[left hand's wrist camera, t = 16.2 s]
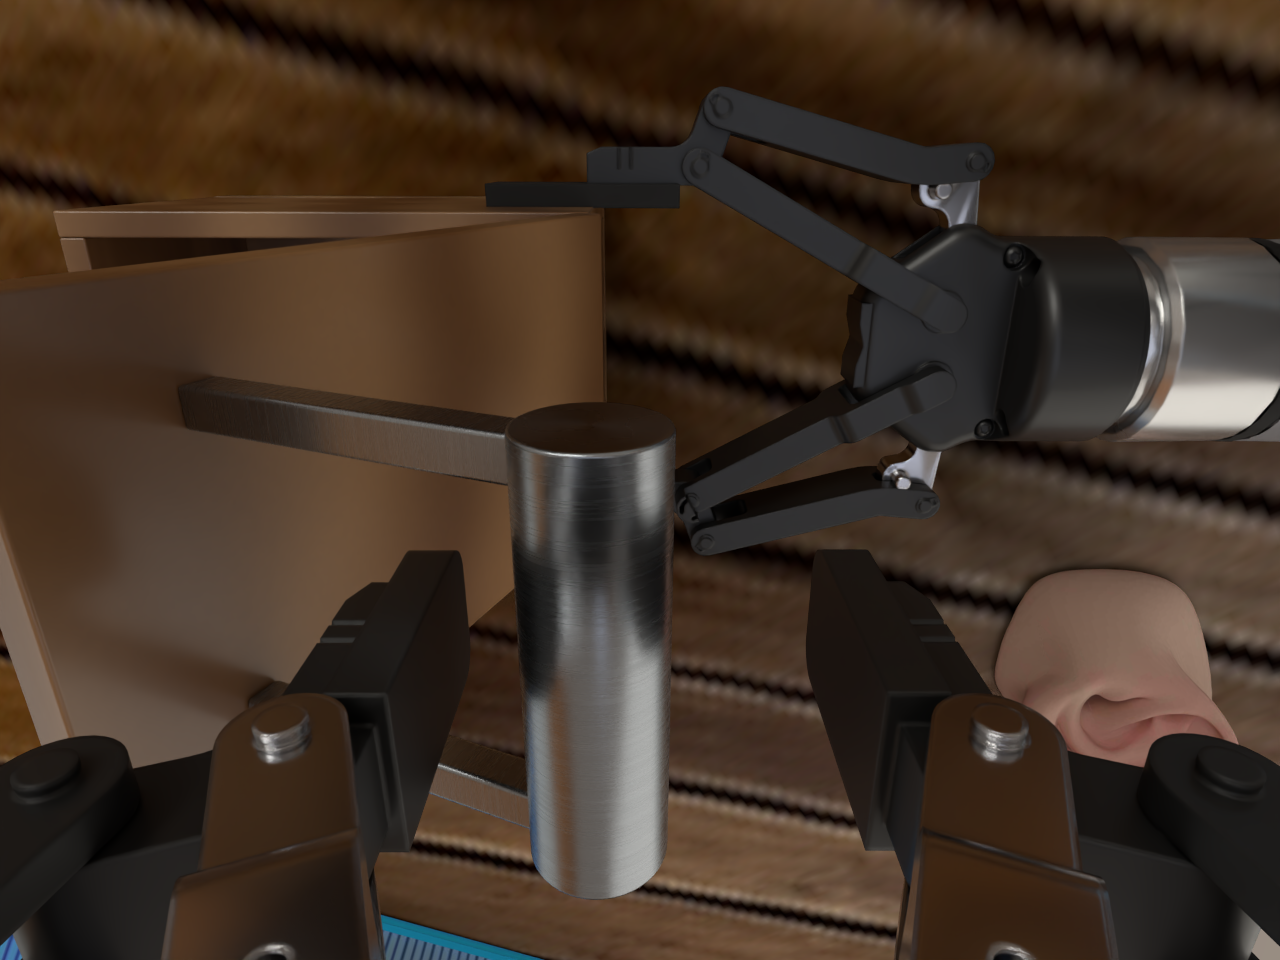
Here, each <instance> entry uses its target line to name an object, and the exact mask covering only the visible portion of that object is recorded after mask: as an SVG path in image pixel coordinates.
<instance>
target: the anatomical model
mask: <svg viewBox="0 0 1280 960" xmlns="http://www.w3.org/2000/svg"><path fill="white" fill-rule="evenodd" d="M995 681H996V684H997V687H998V689H999V690H1000V692H1001V694H1002V695H1003V697H1005V698H1008V699H1011V700H1014V701H1017V702H1019V703H1021V704H1024V705H1026V706H1028V707H1030V708H1032V709H1033V710H1035V711H1037V712H1038V713H1040V714H1041V715H1043V716H1044V717H1045V718H1047V719H1048V720H1049V721H1050V722H1051V723H1052V724H1053V725H1055V726H1056V728H1057V729H1058V730H1059V731H1060V733H1061V734H1062V736H1063V738H1064V740H1065V742H1066V746H1067V750H1068V751H1071V752H1075V753H1079V754H1083V755H1087V756H1092V757H1097V758H1101V759H1106V760H1111V761H1115V762H1120V763H1125V764H1129V765H1134V766H1139V767H1143V768H1144V765H1145V762H1146V758H1147V755H1148V752H1149V749H1150V747H1151V745H1152V743H1153V742H1154V741H1156V740H1157V739H1158V738H1160V737H1163V736H1165V735H1170V734H1176V733H1194V734H1201V735H1208V736H1212V737H1216V738H1220V739H1223V740H1227V741H1230V742H1233V743H1236V744H1238V745H1239V743H1238V741H1237V738H1236V736H1235V734H1234V732H1233V730H1232V728H1231V726H1230V725H1229V723H1228V721H1227V720H1226V718H1225V717H1224V715H1223V714H1222V712H1221V711H1220V710H1219V708H1218V707H1217V706H1216V704H1215V703H1214V702H1213V701H1212V688H1211V675H1210V668H1209V662H1208V656H1207V651H1206V646H1205V642H1204V637H1203V633H1202V629H1201V626H1200V622H1199V619H1198V617H1197V614H1196V611H1195V609H1194V607H1193V605H1192V603H1191V601H1190V599H1189V598H1188V596H1187V595H1186V594H1185V593H1184V592H1183V591H1182V590H1181V589H1180V588H1179V587H1178V586H1177V585H1175V584H1174V583H1172V582H1170V581H1168V580H1166V579H1164V578H1161V577H1158V576H1155V575H1151V574H1147V573H1143V572H1137V571H1129V570H1116V569H1081V570H1069V571H1062V572H1057V573H1054V574H1051V575H1048V576H1046V577H1044V578H1042V579H1040V580H1038V581H1037V582H1036V583H1034V584H1033V585H1032V586H1031V587H1030V588H1029V590H1028V591H1027V592H1026V593H1025V595H1024V597H1023V598H1022V600H1021V602H1020V603H1019V605H1018V607H1017V609H1016V611H1015V613H1014V615H1013V617H1012V619H1011V622H1010V624H1009V626H1008V628H1007V630H1006V632H1005V635H1004V637H1003V640H1002V643H1001V647H1000V650H999V654H998V658H997V662H996V666H995Z"/></svg>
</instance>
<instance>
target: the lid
mask: <svg viewBox="0 0 1280 960" xmlns="http://www.w3.org/2000/svg"><path fill="white" fill-rule="evenodd" d="M675 446H676V429H675V426H674V424H673V422H672V421H671V420H670V419H669V418H668V417H666V416H665V415H663V414H661V413H659V412H656V411H653V410H650V409H647V408H643V407H639V406H634V405H628V404H620V403H607V402H604V399H603V332H602V264H601V215H600V214H595V213H571V214H563V215H554V216H546V217H537V218H528V219H520V220H511V221H503V222H494V223H486V224H477V225H469V226H460V227H452V228H443V229H435V230H426V231H418V232H409V233H400V234H392V235H383V236H375V237H366V238H358V239H349V240H341V241H332V242H324V243H315V244H307V245H298V246H290V247H281V248H272V249H264V250H255V251H247V252H238V253H230V254H221V255H213V256H204V257H196V258H187V259H179V260H170V261H162V262H153V263H144V264H136V265H127V266H119V267H110V268H102V269H93V270H85V271H76V272H68V273H59V274H51V275H42V276H34V277H25V278H17V279H8V280H0V628H1V631H2V634H3V636H4V639H5V642H6V645H7V648H8V651H9V654H10V656H11V659H12V662H13V665H14V668H15V671H16V674H17V677H18V679H19V682H20V685H21V688H22V691H23V694H24V697H25V700H26V702H27V705H28V708H29V711H30V714H31V717H32V720H33V723H34V725H35V728H36V731H37V734H38V737H39V740H40V743H41V745H45V744H48V743H51V742H55V741H58V740H62V739H66V738H71V737H78V736H89V735H97V736H106V737H110V738H114V739H116V740H118V741H120V742H121V743H122V744H123V745H125V747H126V749H127V751H128V753H129V757H130V760H131V763H132V767H133V768H137V767H142V766H147V765H151V764H156V763H161V762H165V761H170V760H175V759H179V758H184V757H189V756H193V755H197V754H201V753H204V752H207V751H210V750H213V746H214V742H215V740H216V738H217V736H218V734H219V733H220V731H221V730H222V729H223V728H224V726H225V725H227V724H228V723H229V722H230V721H231V720H232V719H233V718H235V717H236V716H237V715H239V714H240V713H242V712H243V711H245V710H247V709H248V708H250V707H252V706H254V705H256V704H259V703H261V702H263V701H266V700H269V699H272V698H275V697H279V696H282V695H283V693H284V692H285V690H286V689H287V687H288V686H289V684H290V683H291V681H292V680H293V678H294V677H295V675H296V674H297V672H298V671H299V669H300V668H301V666H302V665H303V663H304V662H305V660H306V659H307V657H308V656H309V654H310V653H311V651H312V650H313V648H314V647H315V645H316V644H317V643H320V638H321V636H322V635H323V633H324V632H325V630H326V629H327V627H328V626H329V625H332V620H333V618H334V617H335V615H336V614H337V612H338V611H339V609H340V608H341V606H342V605H343V603H344V602H345V600H347V599H348V598H350V597H351V596H352V595H354V594H355V593H357V592H358V591H360V590H361V589H363V588H364V587H365V586H367V585H368V584H370V583H371V582H389V581H390V579H391V577H392V576H393V574H394V572H395V571H396V569H397V567H398V566H399V564H400V562H401V561H402V559H403V557H404V556H405V554H406V553H407V551H409V550H458V551H459V552H460V555H461V558H462V562H463V571H464V581H465V592H466V602H467V613H468V624H469V627H470V626H471V625H473V624H474V623H475V622H476V621H477V620H478V619H480V618H481V617H482V616H483V615H484V614H485V613H486V612H488V611H489V610H490V609H491V608H492V607H493V606H494V605H496V604H497V603H498V602H499V601H500V600H501V599H503V598H504V597H505V596H506V595H507V594H508V593H509V592H511V591H512V590H513V589H514V592H515V607H516V623H517V638H518V654H519V669H520V685H521V700H522V716H523V732H524V747H525V759H523V758H520V757H517V756H514V755H511V754H507V753H504V752H501V751H498V750H495V749H492V748H489V747H486V746H482V745H479V744H476V743H473V742H470V741H467V740H464V739H461V738H457V737H454V736H451V735H448V737H447V740H446V743H445V746H444V749H443V752H442V755H441V758H440V761H439V764H438V767H437V770H436V773H435V776H434V779H433V782H432V785H431V788H430V791H429V793H430V794H433V795H436V796H439V797H441V798H444V799H447V800H450V801H453V802H455V803H458V804H461V805H464V806H467V807H469V808H472V809H475V810H478V811H481V812H484V813H486V814H489V815H492V816H495V817H498V818H500V819H503V820H506V821H509V822H512V823H514V824H517V825H520V826H523V827H526V828H528V829H530V840H531V854H532V858H533V861H534V864H535V866H536V868H537V869H538V871H539V873H540V874H541V875H542V877H543V878H544V879H545V880H546V881H547V882H548V883H549V884H551V885H552V886H553V887H554V888H556V889H558V890H559V891H561V892H563V893H565V894H568V895H571V896H574V897H577V898H583V899H592V900H601V899H610V898H615V897H619V896H622V895H625V894H627V893H630V892H632V891H634V890H636V889H638V888H639V887H641V886H642V885H644V884H645V883H646V882H647V881H648V880H649V879H650V878H652V877H653V875H654V874H655V873H656V872H657V870H658V869H659V867H660V865H661V864H662V862H663V859H664V857H665V854H666V850H667V831H668V782H669V734H670V686H671V638H672V590H673V542H674V494H675Z"/></svg>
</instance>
